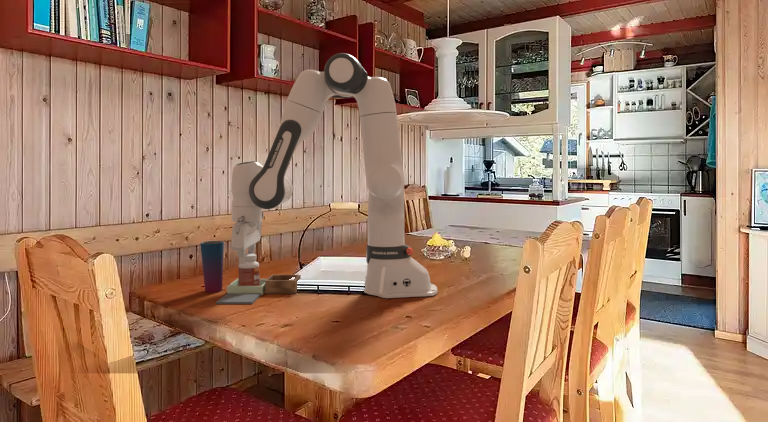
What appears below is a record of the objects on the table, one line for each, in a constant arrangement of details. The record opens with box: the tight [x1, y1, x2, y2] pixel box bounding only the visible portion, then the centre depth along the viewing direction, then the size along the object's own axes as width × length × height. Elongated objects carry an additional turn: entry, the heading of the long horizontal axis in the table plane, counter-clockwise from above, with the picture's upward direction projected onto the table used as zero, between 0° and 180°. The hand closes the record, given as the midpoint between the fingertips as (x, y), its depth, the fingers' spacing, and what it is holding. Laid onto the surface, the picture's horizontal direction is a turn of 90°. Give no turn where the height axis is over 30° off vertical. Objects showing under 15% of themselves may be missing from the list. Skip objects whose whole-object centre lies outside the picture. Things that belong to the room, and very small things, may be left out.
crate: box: [264, 274, 302, 295], centre depth 163 cm, size 9×9×4 cm
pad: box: [215, 292, 262, 305], centre depth 153 cm, size 10×10×1 cm
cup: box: [199, 240, 225, 294], centre depth 163 cm, size 7×7×15 cm
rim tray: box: [226, 278, 268, 296], centre depth 163 cm, size 10×10×2 cm
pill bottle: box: [238, 253, 261, 286], centre depth 163 cm, size 6×6×11 cm
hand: (246, 260), depth 163 cm, fingers open, 8 cm apart
